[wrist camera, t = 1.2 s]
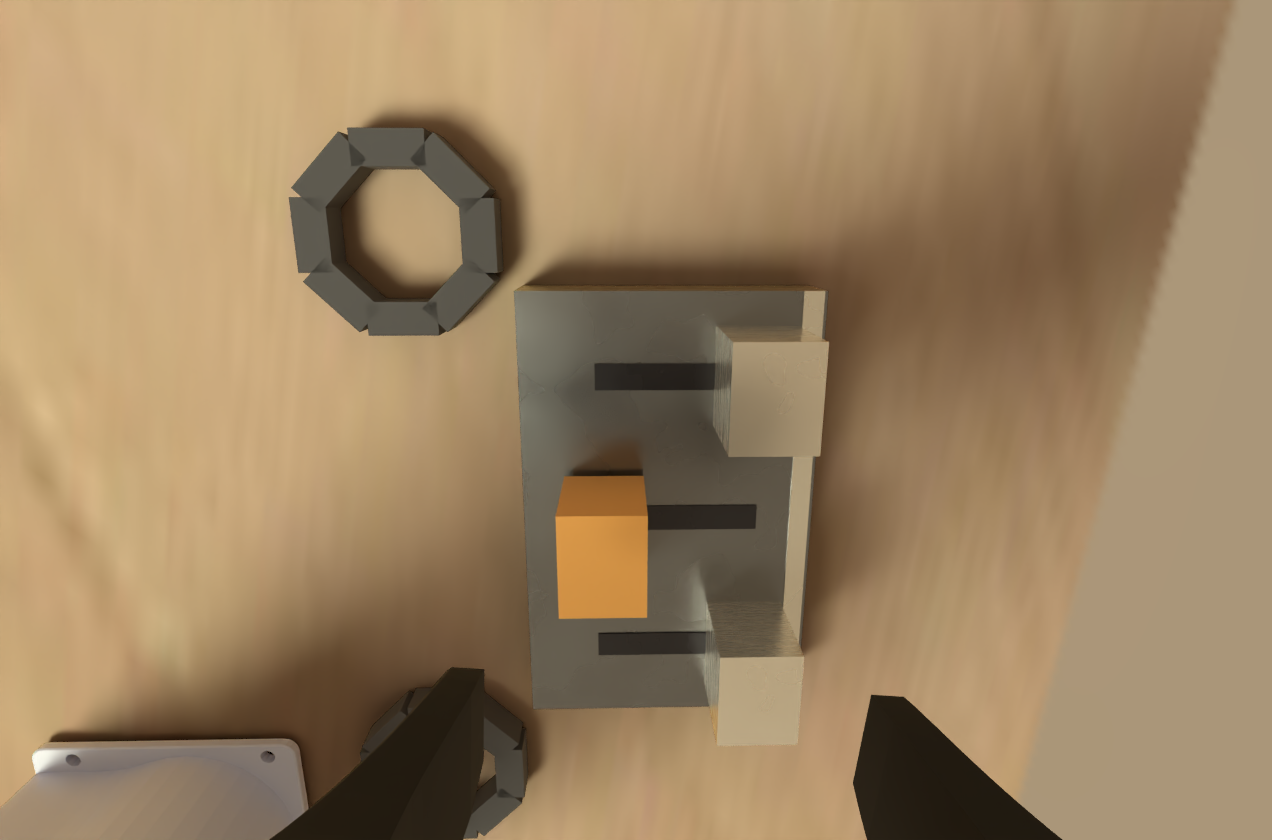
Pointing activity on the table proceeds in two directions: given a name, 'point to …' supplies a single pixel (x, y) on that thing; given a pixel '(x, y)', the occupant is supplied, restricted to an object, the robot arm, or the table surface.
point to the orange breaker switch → (602, 547)
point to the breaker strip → (678, 490)
